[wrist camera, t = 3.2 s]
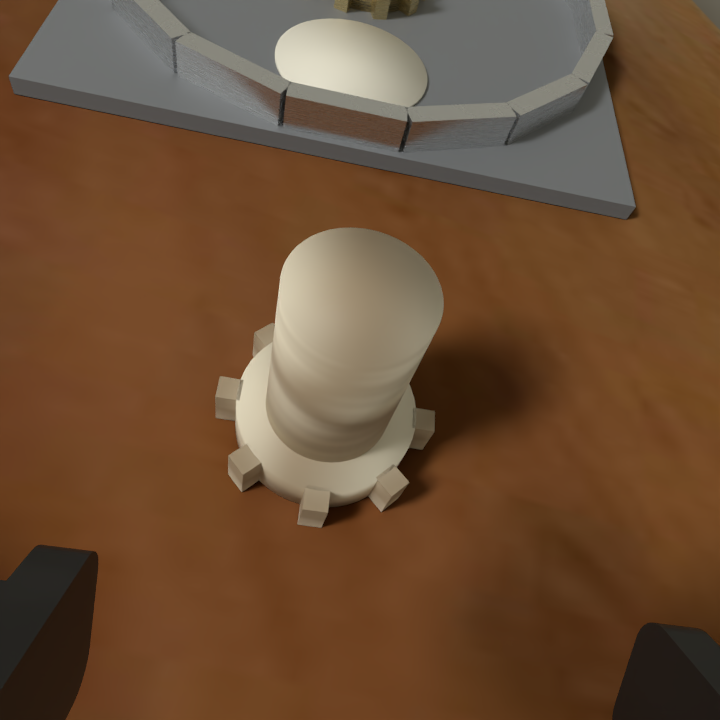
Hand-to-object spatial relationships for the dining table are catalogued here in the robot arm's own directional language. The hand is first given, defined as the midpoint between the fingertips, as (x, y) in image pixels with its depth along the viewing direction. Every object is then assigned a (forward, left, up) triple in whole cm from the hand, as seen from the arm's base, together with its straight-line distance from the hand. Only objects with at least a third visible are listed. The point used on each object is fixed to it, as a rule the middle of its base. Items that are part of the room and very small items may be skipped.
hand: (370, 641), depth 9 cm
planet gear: (0, -10, -13) cm, 16 cm away
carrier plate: (+1, -43, -13) cm, 45 cm away
